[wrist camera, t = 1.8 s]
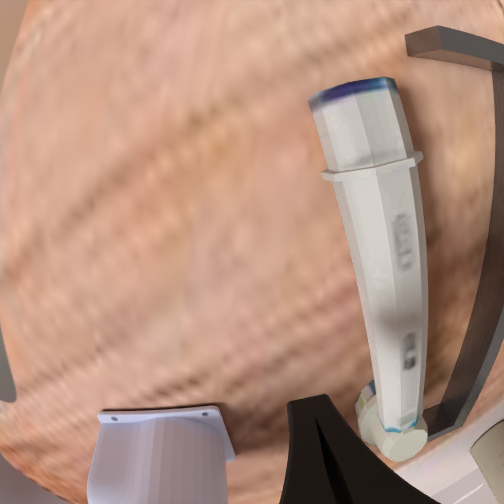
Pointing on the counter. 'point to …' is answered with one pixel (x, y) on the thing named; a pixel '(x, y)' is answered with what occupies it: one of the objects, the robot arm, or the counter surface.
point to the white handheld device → (382, 251)
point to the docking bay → (498, 245)
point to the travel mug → (492, 459)
